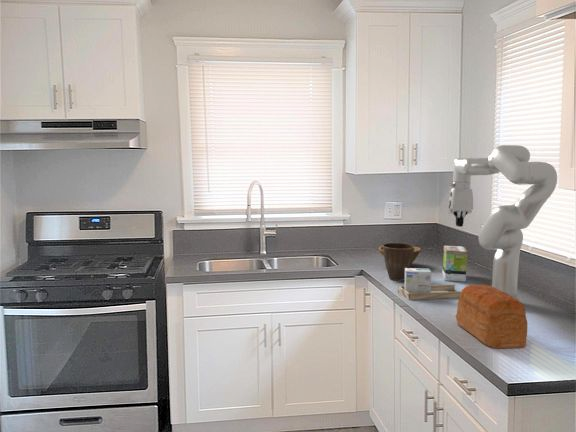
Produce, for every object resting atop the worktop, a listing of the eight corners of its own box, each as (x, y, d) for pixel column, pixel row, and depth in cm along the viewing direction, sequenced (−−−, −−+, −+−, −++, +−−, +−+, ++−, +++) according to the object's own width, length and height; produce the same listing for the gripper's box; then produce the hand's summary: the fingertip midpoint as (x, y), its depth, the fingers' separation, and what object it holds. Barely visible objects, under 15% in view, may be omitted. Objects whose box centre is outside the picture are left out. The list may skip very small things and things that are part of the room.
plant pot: (418, 281, 253) (419, 248, 251) (388, 282, 250) (389, 249, 248) (405, 274, 267) (406, 242, 266) (377, 275, 264) (377, 243, 263)
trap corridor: (467, 297, 226) (467, 291, 226) (408, 299, 222) (409, 293, 222) (453, 289, 238) (454, 284, 238) (397, 292, 234) (398, 286, 234)
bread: (489, 349, 167) (491, 302, 165) (452, 322, 193) (454, 281, 191) (531, 348, 168) (534, 301, 167) (489, 321, 195) (491, 280, 193)
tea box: (466, 282, 253) (467, 251, 251) (444, 280, 255) (445, 250, 253) (462, 275, 268) (464, 245, 266) (441, 273, 270) (443, 244, 268)
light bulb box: (428, 292, 232) (429, 268, 231) (430, 296, 226) (432, 271, 224) (403, 291, 234) (404, 267, 232) (404, 295, 227) (405, 270, 226)
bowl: (368, 265, 288) (369, 247, 287) (397, 260, 302) (398, 243, 300) (400, 273, 271) (400, 253, 269) (429, 267, 284) (430, 248, 283)
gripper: (449, 186, 237) (447, 227, 239) (481, 186, 240) (478, 227, 242) (442, 185, 244) (440, 225, 247) (472, 185, 247) (470, 224, 249)
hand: (459, 226), depth 244 cm, fingers closed
